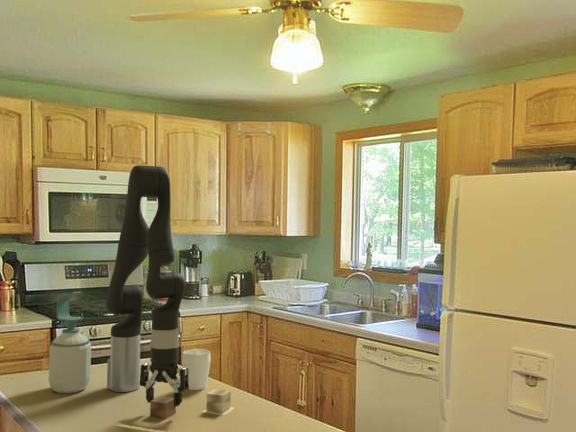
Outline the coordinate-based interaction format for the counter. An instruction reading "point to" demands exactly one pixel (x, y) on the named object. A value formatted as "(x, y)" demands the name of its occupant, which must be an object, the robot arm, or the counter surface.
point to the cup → (197, 367)
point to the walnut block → (162, 407)
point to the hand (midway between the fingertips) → (163, 403)
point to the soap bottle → (69, 353)
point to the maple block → (218, 400)
